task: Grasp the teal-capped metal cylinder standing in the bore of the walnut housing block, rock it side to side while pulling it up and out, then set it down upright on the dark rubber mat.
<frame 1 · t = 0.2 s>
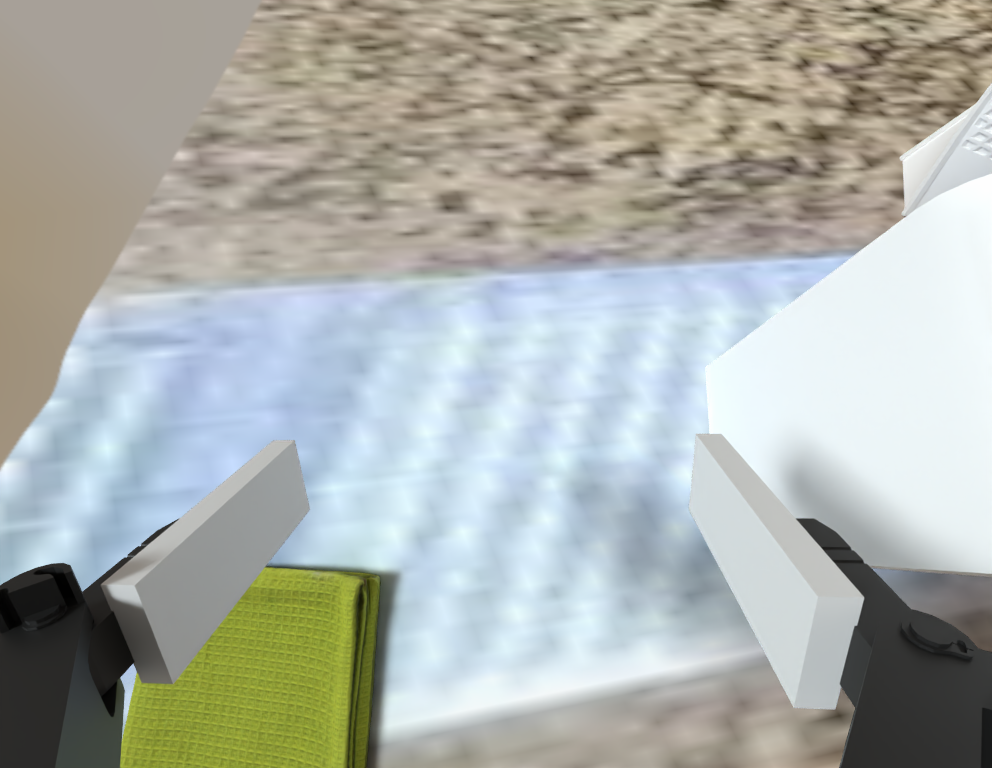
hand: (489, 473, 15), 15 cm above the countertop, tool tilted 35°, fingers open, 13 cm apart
skyscraper: (945, 192, 33), on the countertop
milk: (805, 461, 29), on the countertop
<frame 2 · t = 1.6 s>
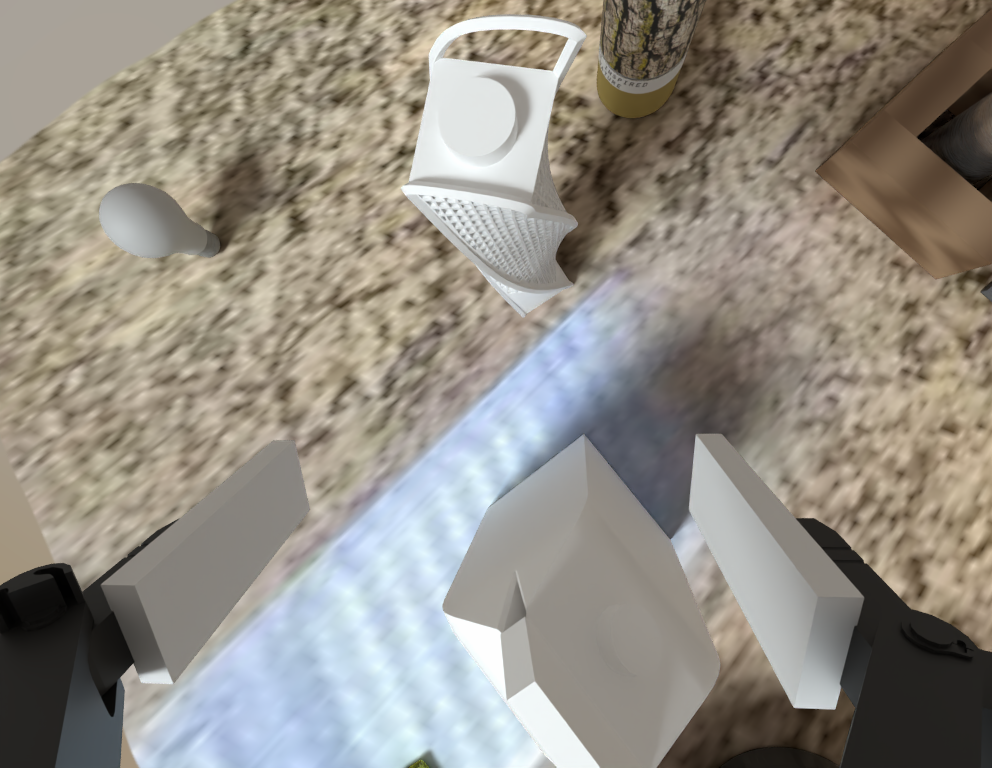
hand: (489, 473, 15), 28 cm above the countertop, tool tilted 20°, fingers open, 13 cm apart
bark-print cylinder: (634, 85, 41), on the countertop
lightbulb: (216, 247, 48), on the countertop
housing: (939, 165, 37), on the countertop
skyscraper: (535, 277, 43), on the countertop
milk: (576, 523, 42), on the countertop
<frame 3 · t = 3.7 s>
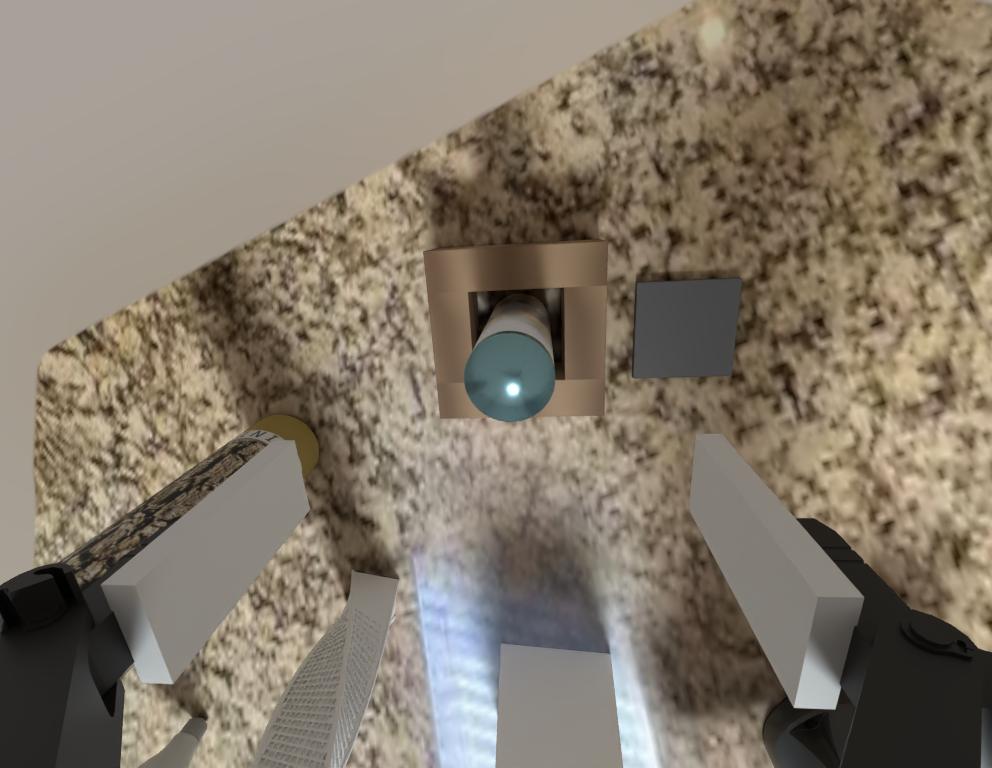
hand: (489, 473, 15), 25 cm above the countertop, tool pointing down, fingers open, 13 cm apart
bark-print cylinder: (289, 442, 45), on the countertop
lightbulb: (202, 717, 60), on the countertop
mat: (683, 329, 38), on the countertop
housing: (519, 323, 39), on the countertop
skyscraper: (374, 591, 50), on the countertop
teal-capped metal cylinder: (515, 345, 32), in the housing
milk: (551, 685, 53), on the countertop
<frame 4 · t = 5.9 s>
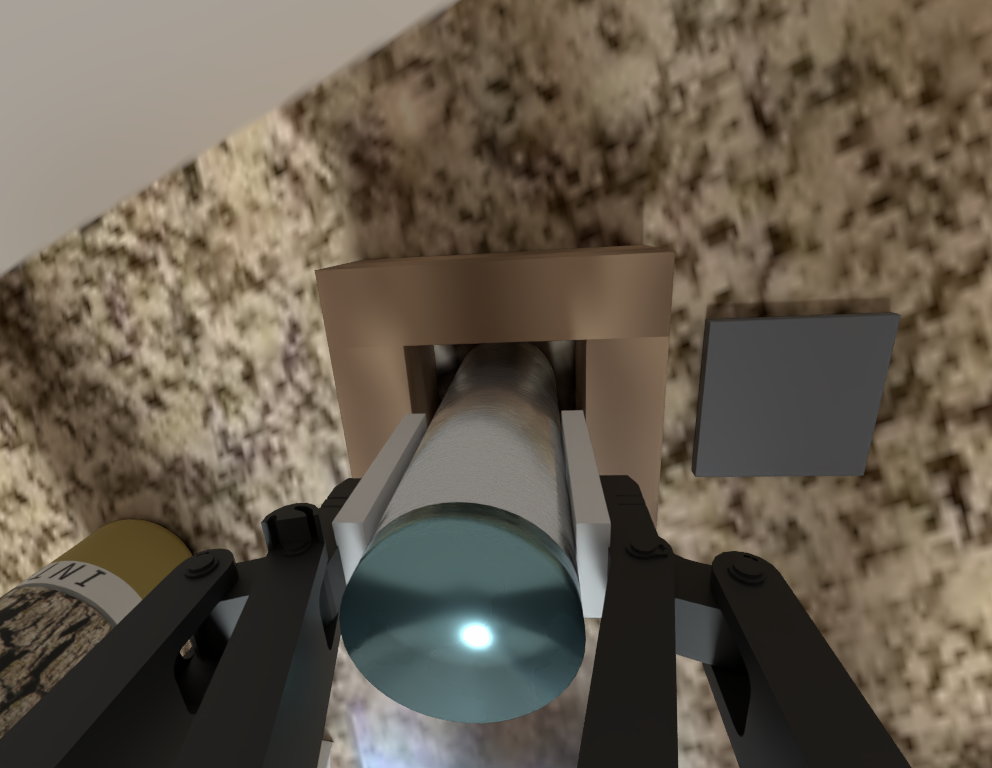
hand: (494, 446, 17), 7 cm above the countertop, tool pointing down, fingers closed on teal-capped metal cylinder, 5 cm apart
bark-print cylinder: (154, 556, 29), on the countertop
mat: (783, 397, 22), on the countertop
housing: (505, 385, 23), on the countertop
skyscraper: (299, 753, 35), on the countertop
teal-capped metal cylinder: (492, 456, 16), in the housing, touching gripper
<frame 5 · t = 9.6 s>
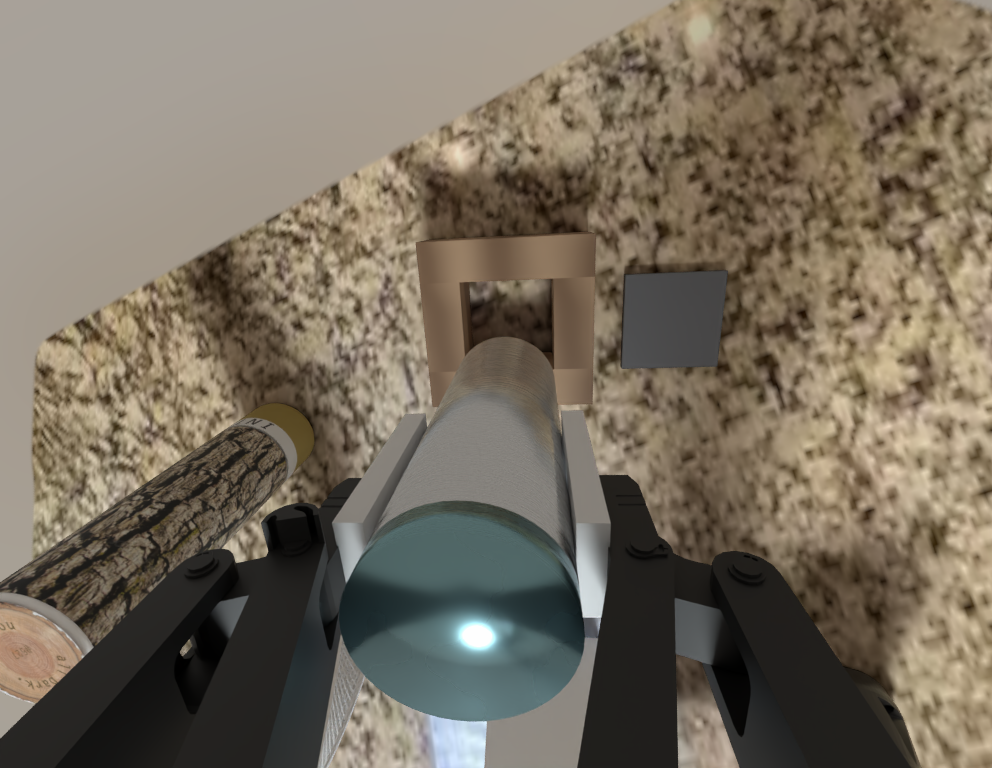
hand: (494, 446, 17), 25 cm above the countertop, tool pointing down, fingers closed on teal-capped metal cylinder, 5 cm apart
bark-print cylinder: (285, 431, 46), on the countertop
mat: (670, 320, 39), on the countertop
housing: (511, 314, 40), on the countertop
skyscraper: (369, 577, 51), on the countertop
teal-capped metal cylinder: (492, 456, 16), point 25 cm above the countertop, touching gripper
milk: (542, 669, 54), on the countertop
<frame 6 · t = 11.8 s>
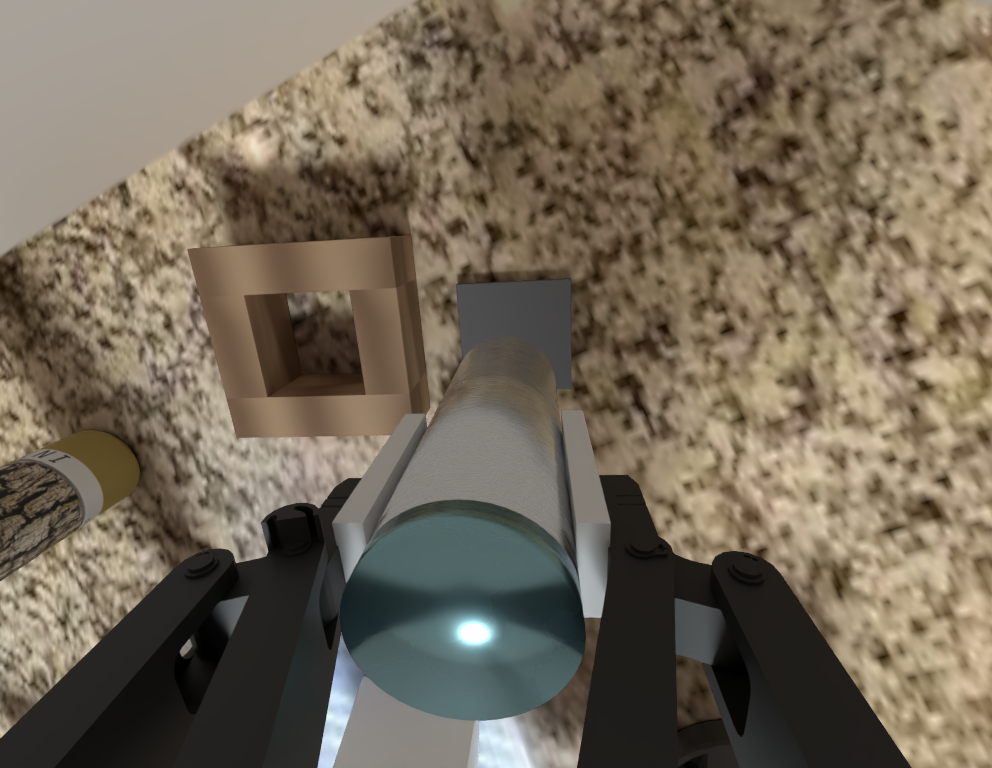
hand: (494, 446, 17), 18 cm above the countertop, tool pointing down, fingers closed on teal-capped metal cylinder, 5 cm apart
bark-print cylinder: (109, 460, 41), on the countertop
mat: (515, 336, 34), on the countertop
housing: (337, 329, 35), on the countertop
teal-capped metal cylinder: (492, 455, 16), point 19 cm above the countertop, touching gripper
milk: (422, 720, 49), on the countertop
when the fingers open (9 cm above the countertop, at t = 13.6 s): teal-capped metal cylinder drops 2 cm, resting on mat.
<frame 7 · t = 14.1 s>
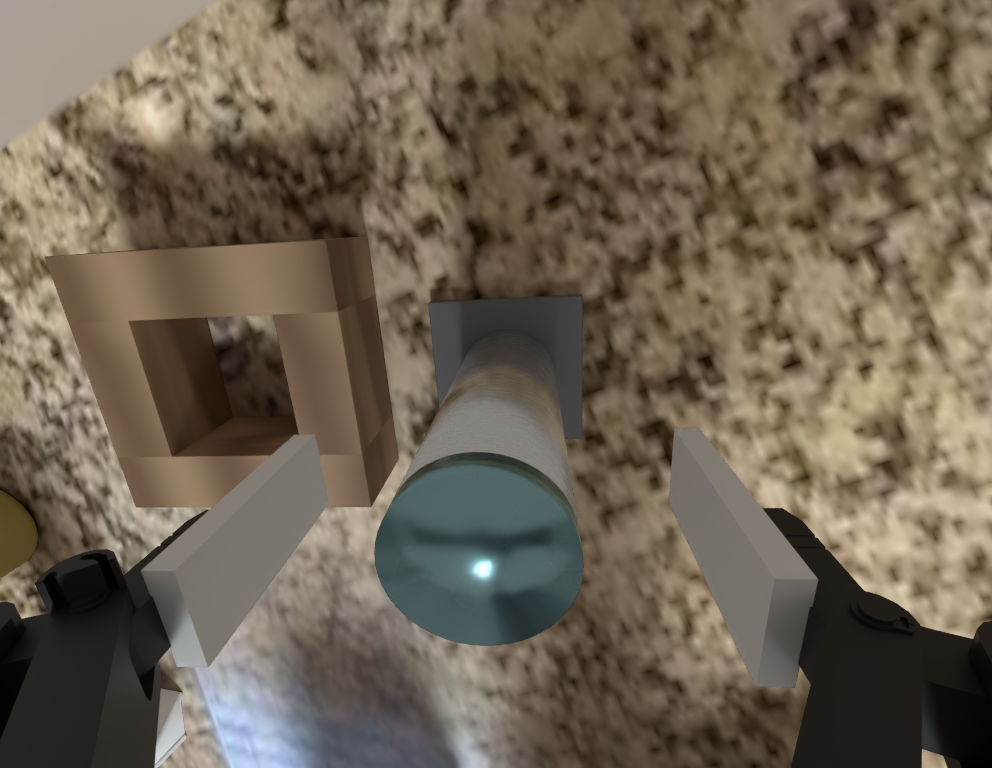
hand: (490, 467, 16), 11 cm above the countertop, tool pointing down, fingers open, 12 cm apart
bark-print cylinder: (1, 519, 33), on the countertop
mat: (508, 370, 26), on the countertop
housing: (274, 360, 27), on the countertop
skyscraper: (155, 704, 38), on the countertop
teal-capped metal cylinder: (498, 432, 18), on the mat, point 8 cm above the countertop
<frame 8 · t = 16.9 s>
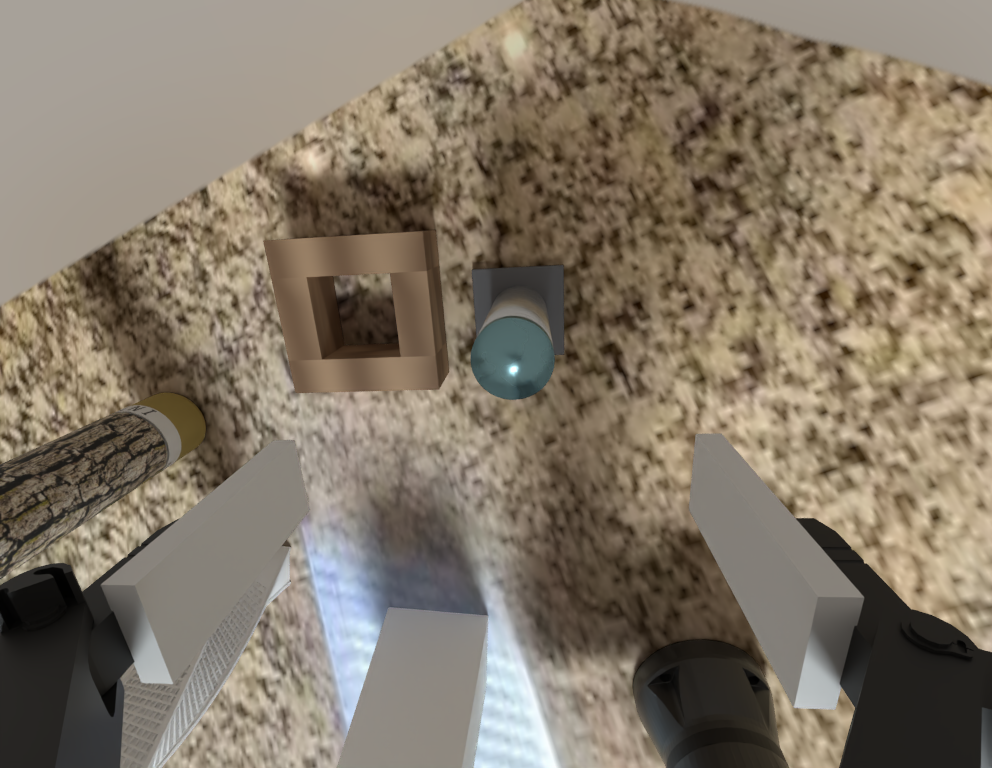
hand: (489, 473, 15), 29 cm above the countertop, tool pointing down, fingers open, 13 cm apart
bark-print cylinder: (180, 419, 49), on the countertop
mat: (519, 312, 42), on the countertop
housing: (374, 307, 43), on the countertop
skyscraper: (270, 558, 54), on the countertop
teal-capped metal cylinder: (516, 332, 35), on the mat, point 8 cm above the countertop
milk: (439, 646, 57), on the countertop
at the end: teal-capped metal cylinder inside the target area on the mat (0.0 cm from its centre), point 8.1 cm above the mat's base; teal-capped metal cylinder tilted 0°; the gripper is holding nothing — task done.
